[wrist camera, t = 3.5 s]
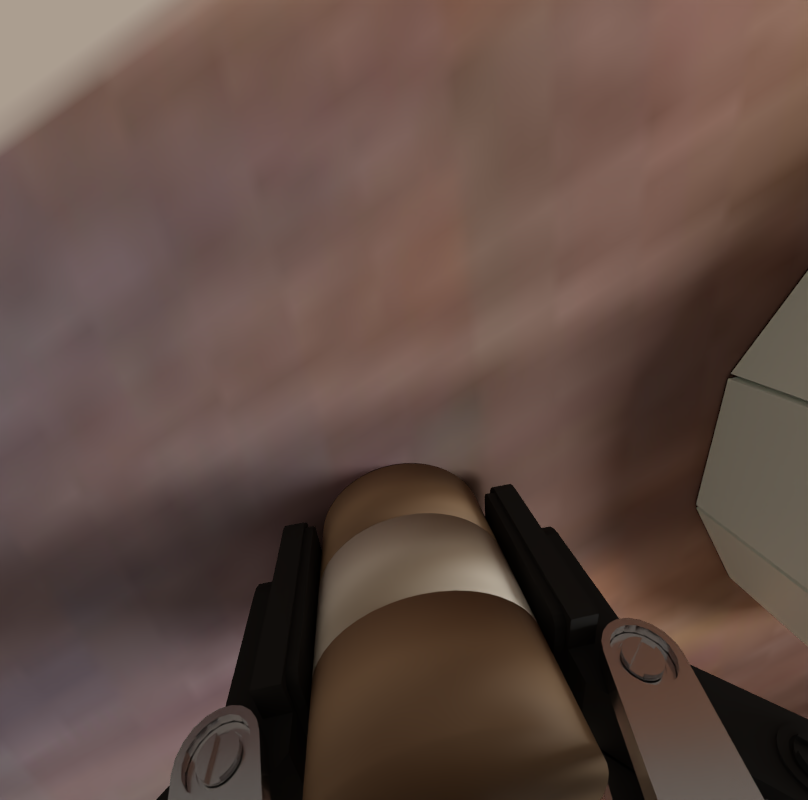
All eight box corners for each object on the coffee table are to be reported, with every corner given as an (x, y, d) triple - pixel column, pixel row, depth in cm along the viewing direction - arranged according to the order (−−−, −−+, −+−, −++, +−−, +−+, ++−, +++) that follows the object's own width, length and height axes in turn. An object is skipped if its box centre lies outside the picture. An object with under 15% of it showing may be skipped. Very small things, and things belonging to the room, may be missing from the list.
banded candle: (477, 450, 10) (710, 829, 4) (482, 571, 12) (642, 964, 6) (307, 480, 10) (229, 960, 3) (339, 601, 12) (331, 1060, 5)
